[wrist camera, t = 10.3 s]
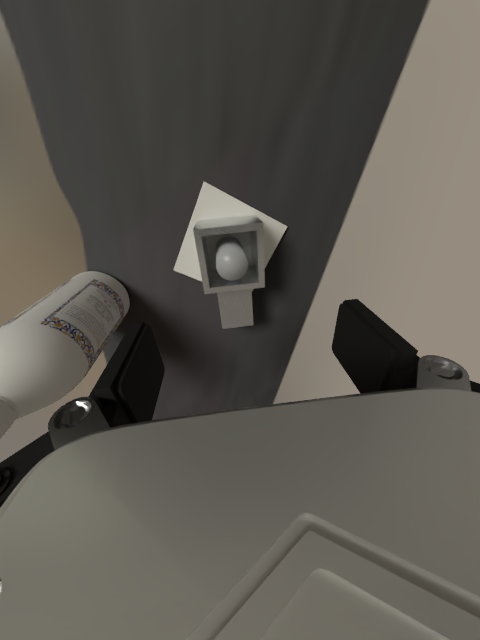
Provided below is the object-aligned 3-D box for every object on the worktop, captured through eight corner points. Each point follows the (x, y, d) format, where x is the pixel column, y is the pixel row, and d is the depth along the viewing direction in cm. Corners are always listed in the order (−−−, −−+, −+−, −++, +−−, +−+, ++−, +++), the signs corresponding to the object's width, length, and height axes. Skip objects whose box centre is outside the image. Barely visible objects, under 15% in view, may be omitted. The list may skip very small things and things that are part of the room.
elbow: (197, 220, 24) (193, 229, 20) (254, 214, 25) (263, 222, 20) (212, 314, 31) (212, 338, 26) (258, 308, 31) (265, 331, 26)
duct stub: (204, 181, 23) (200, 181, 17) (286, 226, 26) (305, 238, 20) (173, 269, 27) (163, 291, 22) (247, 298, 30) (254, 324, 25)
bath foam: (79, 319, 30) (-102, 505, 13) (62, 268, 26) (-222, 431, 9) (135, 320, 30) (35, 496, 14) (126, 271, 27) (-26, 425, 10)
